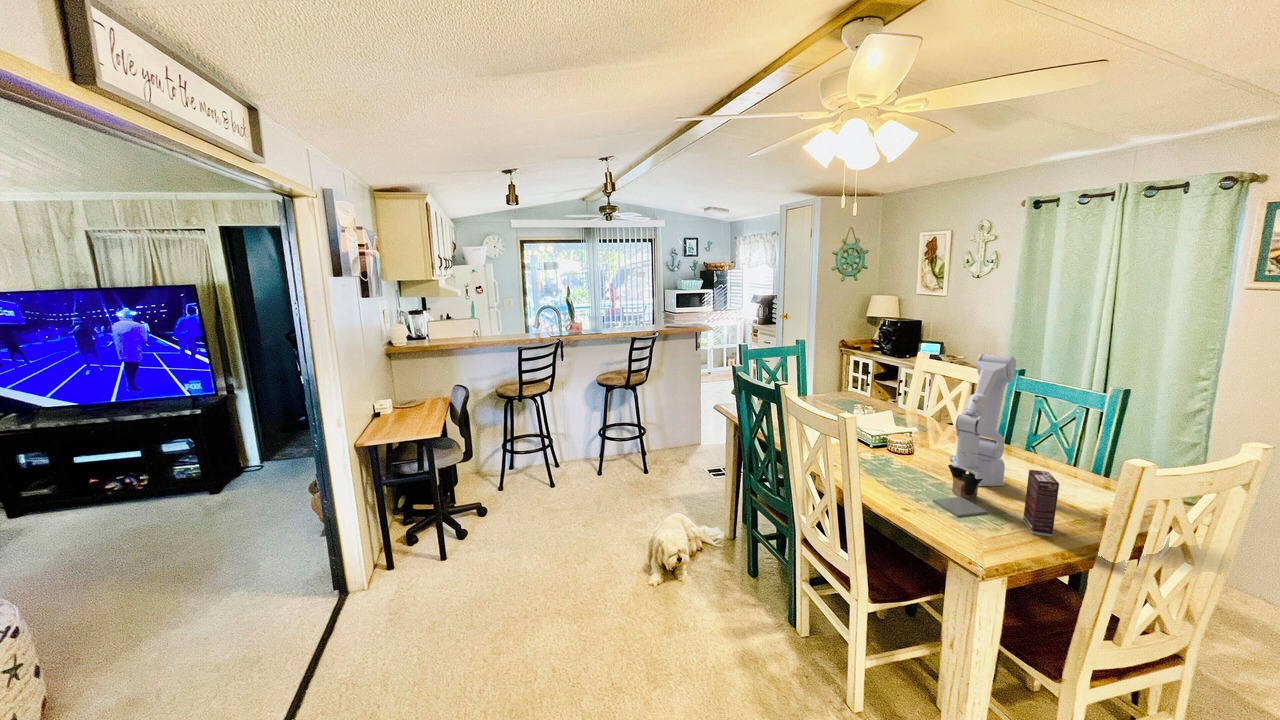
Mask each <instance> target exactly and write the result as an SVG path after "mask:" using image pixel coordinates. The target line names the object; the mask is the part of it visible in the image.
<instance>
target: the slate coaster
mask: <svg viewBox="0 0 1280 720" xmlns="http://www.w3.org/2000/svg"><path fill="white" fill-rule="evenodd" d="M932 502H933V503H934V504H936V505H938V506H939V507H941V508H942V509H944V510H946V512H949V513H950V514H952V515H953V516H955V517H957V518H959V517H968V516H975V515H976V516H977V515H984V514H988V511H987V510H986V509H984V508H982V507H980V506H978V505H977V504H975V503H973V502H971V501H969V500H968V499H966V498H963V497H958V496H956V497H946V498H938V499H933V500H932Z"/></svg>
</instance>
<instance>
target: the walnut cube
mask: <svg viewBox="0 0 1280 720" xmlns="http://www.w3.org/2000/svg"><path fill="white" fill-rule="evenodd" d="M978 489H979V486H978V485H977V487H976V489H975V492H974V494H973V495H966V494H965V483H964V479H963V477H954V478H953V477H952V488H951V492H953V494H955V496H956V497H963V498H964V499H966V500H968V499H969V500H971V499H973V500H975V499H977V498H978Z"/></svg>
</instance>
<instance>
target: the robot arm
mask: <svg viewBox="0 0 1280 720" xmlns="http://www.w3.org/2000/svg"><path fill="white" fill-rule="evenodd" d="M975 363H976V364H975V366H976V370H977V374H978V376H979V377H978V380H977V384H976V387H975V391H974V393H973V394H970V395H969V397H968V398H967V402H966V404H965V407H964V409H963V411H962V413H961V414H959V415H958V416H957V418H956V421H955V431H956V434H955V435H956V437H957V443H956V451H955V453H956V455H949V460H948V461H949V462H951V464H948V469H949V470H950V473H951V476H952V479H953V478H954V477H963V479H964V483H965V494H966V495H973V494H974V492H975V489H976V487H977V485H978V487H995V486H996V487H997V486H998V487H1001V486H1005V485H1006V484H1005V483H1004V478H1005V470H1006V469H1005V468H1006V467H1005V462H1004V460H1003V459H1002V456H1003V454H1004V449H1005V448H1004V447H1005V446H1004V444H1005V438H1004V437H1003V436H1002V434H1001V433H1000V432H998V431H997V426H998V422H999V417H1000V411H1001V407H1002V403H1003V397H1004V391H1005V389H1006V386H1007V383H1011V382H1013V380H1014V377H1015V374H1016V369H1017V360H1016V358H1015V357H1014V356H1007V355H996V354H986V353H980V354H979V355H978V357H977V359H976V362H975ZM984 437H985V438H984ZM967 472H968V473H967Z"/></svg>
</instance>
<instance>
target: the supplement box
mask: <svg viewBox="0 0 1280 720" xmlns="http://www.w3.org/2000/svg"><path fill="white" fill-rule="evenodd" d="M1059 488H1060V483H1059V481H1057V479H1056V478H1054V476H1053V475H1052V474H1051V473H1050V472H1049V471H1045V470H1038V469H1037V470H1036V469H1029V470H1028V478H1027V487H1026V494H1025V503H1024V510H1023V511H1024V512H1023V518H1022V520H1023V522H1024V523H1025V525H1026V526H1027V528H1028V529H1029V531H1030V533H1031V534H1032V535H1036V536H1042V537H1043V536H1044V537H1051V538H1052V537H1053V532H1054V525H1055V524H1054V523H1055V519H1056V518H1055V517H1056V509H1057V502H1058V496H1059Z"/></svg>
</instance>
